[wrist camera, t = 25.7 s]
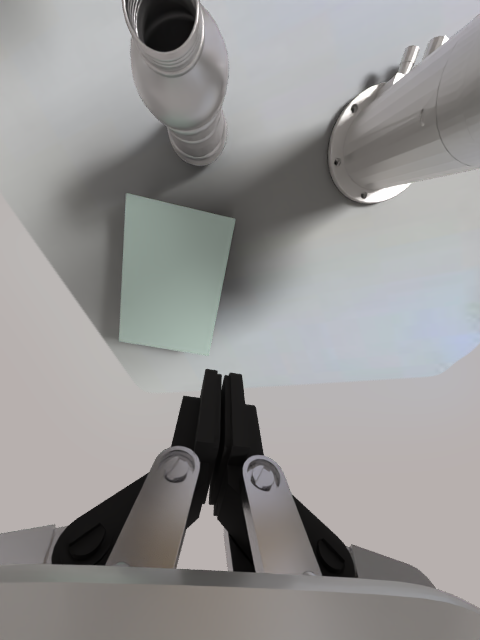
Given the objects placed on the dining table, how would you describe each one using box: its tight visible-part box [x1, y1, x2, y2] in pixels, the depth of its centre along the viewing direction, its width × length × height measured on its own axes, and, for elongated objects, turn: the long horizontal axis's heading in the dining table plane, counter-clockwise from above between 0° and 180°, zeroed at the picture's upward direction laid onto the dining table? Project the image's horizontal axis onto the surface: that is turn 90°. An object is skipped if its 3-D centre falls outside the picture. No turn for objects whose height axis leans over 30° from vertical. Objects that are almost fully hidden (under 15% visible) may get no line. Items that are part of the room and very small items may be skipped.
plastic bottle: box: [122, 0, 229, 166], centre depth 21 cm, size 6×7×20 cm
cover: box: [119, 193, 236, 356], centre depth 31 cm, size 18×12×1 cm, turn 168°
